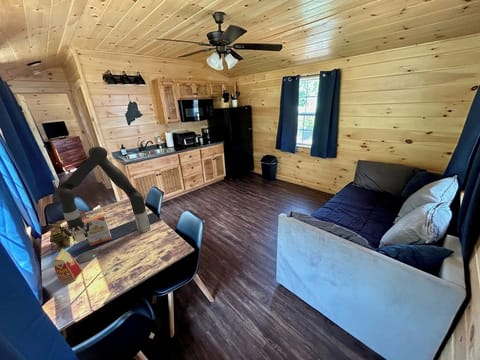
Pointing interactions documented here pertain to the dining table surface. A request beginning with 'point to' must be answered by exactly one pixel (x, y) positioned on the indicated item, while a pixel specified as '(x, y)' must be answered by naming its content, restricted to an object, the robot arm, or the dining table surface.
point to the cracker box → (97, 229)
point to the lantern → (83, 215)
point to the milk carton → (66, 267)
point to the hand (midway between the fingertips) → (81, 238)
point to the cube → (79, 236)
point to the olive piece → (59, 237)
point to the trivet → (87, 256)
